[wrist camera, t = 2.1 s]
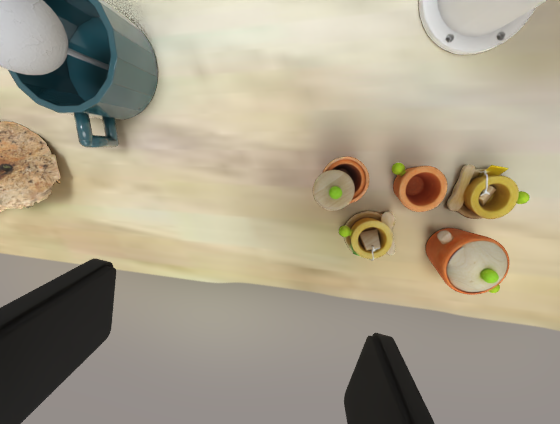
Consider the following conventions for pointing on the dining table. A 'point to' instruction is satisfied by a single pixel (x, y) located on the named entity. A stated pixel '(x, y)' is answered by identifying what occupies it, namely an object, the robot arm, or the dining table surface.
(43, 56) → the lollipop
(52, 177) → the tan irregular piece
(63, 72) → the mug
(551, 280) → the dining table surface
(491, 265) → the toy tea set
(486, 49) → the robot arm
